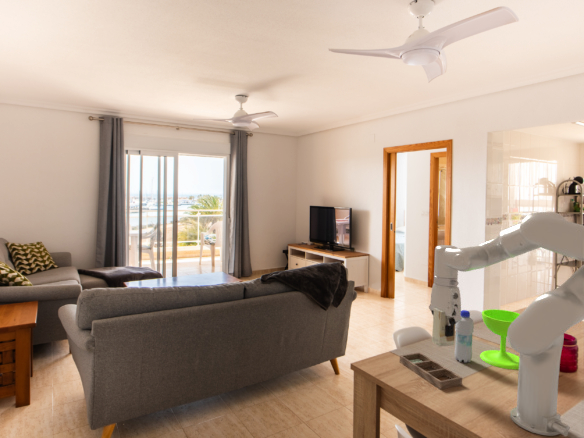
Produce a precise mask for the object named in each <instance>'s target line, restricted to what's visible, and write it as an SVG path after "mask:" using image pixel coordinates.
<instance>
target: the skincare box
mask: <svg viewBox="0 0 584 438" xmlns="http://www.w3.org/2000/svg"><path fill="white" fill-rule="evenodd" d="M432 319H433V320H432V336H431V337H432V338H431V342H432V343H433V344H435V345H436V346H437V347H451V346H452V347H453V346H455V342H456V329H455V325H454V335H453V336H450V337H446V336H445V325H447V321H446V316H445V315H444V312H443V311H441V310H438V309H436V308H434V315H433V314H432ZM450 320H451V318H450Z"/></svg>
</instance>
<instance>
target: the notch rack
mask: <svg viewBox="0 0 584 438" xmlns="http://www.w3.org/2000/svg"><path fill="white" fill-rule="evenodd" d="M415 359H420V360H422V362H417V363H412V362H411V361H409V360H415ZM399 363H400V364H402V365H403V366H405V367H406V368H408V369H409V370H410V371H412V372H414V373H415V374H417V375H418V376H419V377H421V378H422V379H424V380H425V381H427V382H428V383H430V384H431V385H433V386H434V387H436V388H438V390H444V389H448V388H453V387H458V386H463V377H462V376H460V375H459V374H456V373H455V372H453V370H451V369H448V368H446V367H445V366H444V365H441V364H440V363H438V362H436V361H435V360H433V359H431V358H430V357H428V356H427V355H425V354H423V353H422V352H420V351H419V352H414V353H408V354H402V355H399ZM430 368H432V370H428V371H426V370H424V369H430ZM435 369H436V370H435ZM441 377H447V378H448V377H449V378H448V379H442V380H440V379H438V378H441ZM450 378H451V379H450Z"/></svg>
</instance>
